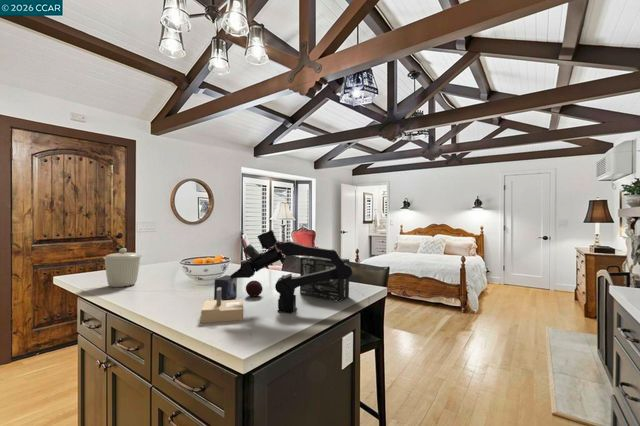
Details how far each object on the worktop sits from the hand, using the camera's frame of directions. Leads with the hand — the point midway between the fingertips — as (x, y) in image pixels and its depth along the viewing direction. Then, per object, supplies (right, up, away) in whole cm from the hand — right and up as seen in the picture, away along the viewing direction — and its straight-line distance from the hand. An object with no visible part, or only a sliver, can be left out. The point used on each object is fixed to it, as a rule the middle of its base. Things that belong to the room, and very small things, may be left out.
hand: (233, 274), depth 125 cm
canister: (-75, -16, +45) cm, 89 cm away
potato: (+4, -16, +23) cm, 28 cm away
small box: (-8, -15, +17) cm, 24 cm away
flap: (-6, -11, -7) cm, 14 cm away
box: (+38, -16, +24) cm, 48 cm away
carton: (-2, -15, -6) cm, 16 cm away
